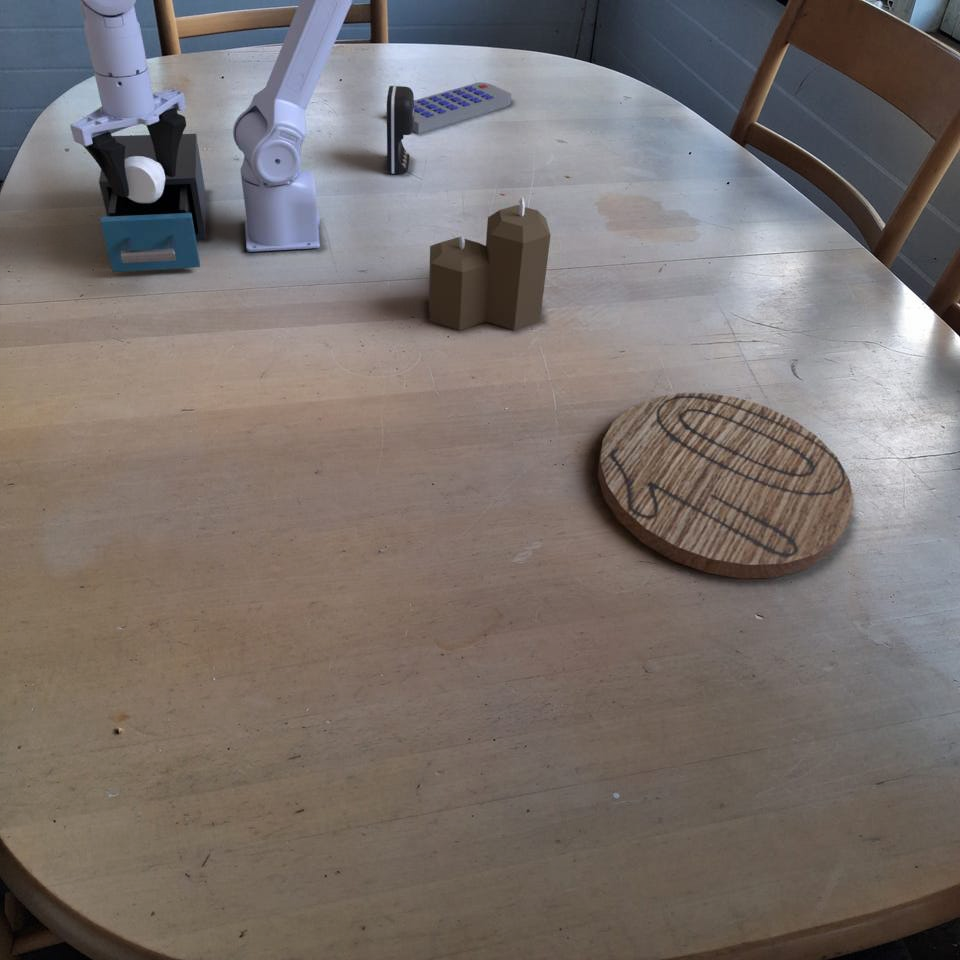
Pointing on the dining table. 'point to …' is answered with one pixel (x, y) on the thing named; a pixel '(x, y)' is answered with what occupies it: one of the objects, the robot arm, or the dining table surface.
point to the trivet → (724, 485)
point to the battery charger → (398, 127)
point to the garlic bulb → (144, 179)
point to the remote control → (458, 105)
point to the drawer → (151, 232)
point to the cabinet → (185, 174)
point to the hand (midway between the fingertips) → (144, 184)
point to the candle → (492, 273)
